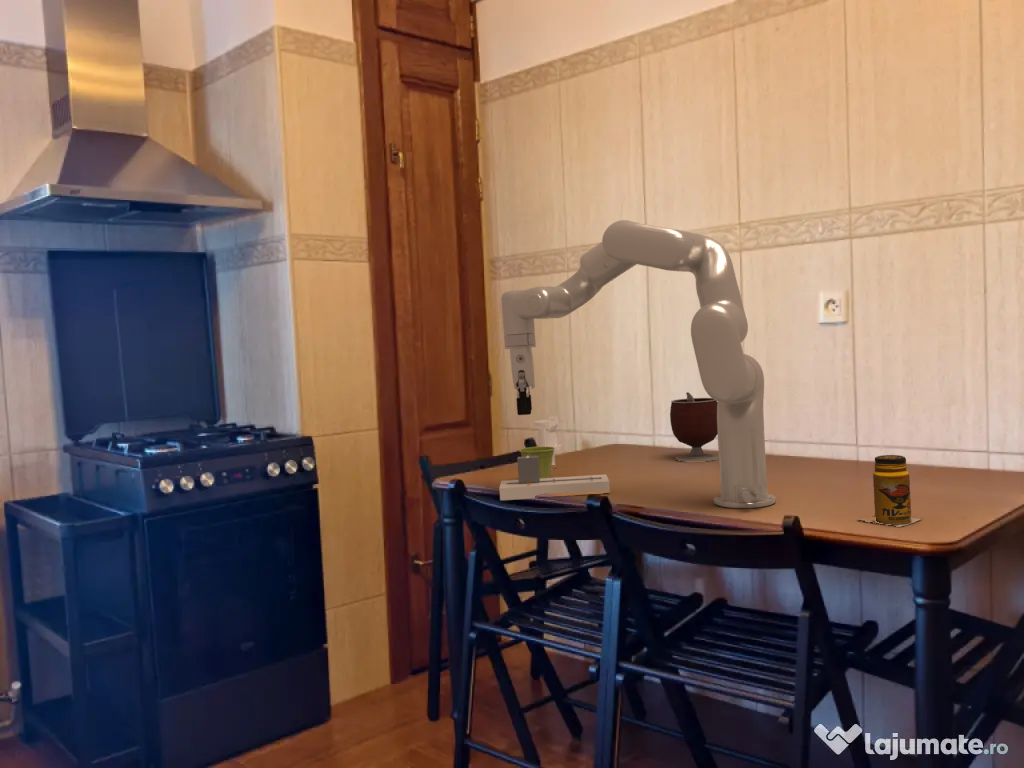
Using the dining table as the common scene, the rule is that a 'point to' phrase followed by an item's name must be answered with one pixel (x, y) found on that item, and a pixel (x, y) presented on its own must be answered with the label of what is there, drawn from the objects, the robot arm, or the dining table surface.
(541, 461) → the plant pot
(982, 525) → the dining table surface
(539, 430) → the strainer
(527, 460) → the fader
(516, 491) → the console
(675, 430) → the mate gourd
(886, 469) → the condiment
